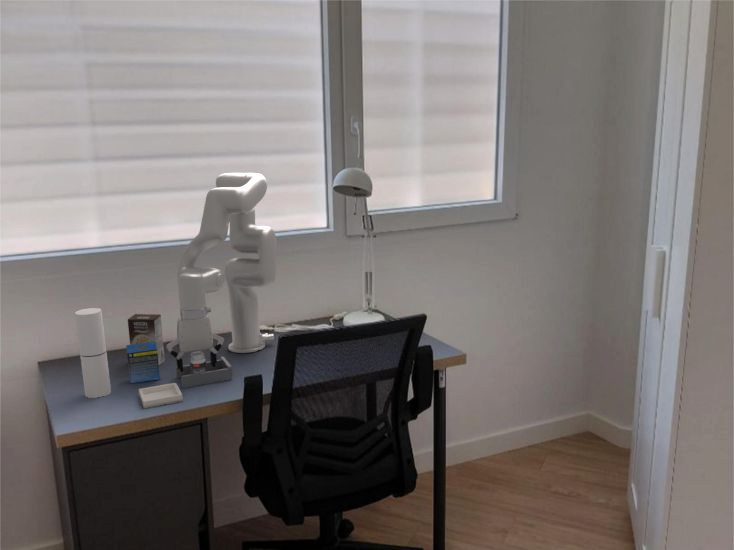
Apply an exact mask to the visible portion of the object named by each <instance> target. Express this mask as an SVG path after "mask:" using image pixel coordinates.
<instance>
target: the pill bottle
mask: <svg viewBox="0 0 734 550" xmlns="http://www.w3.org/2000/svg"><path fill="white" fill-rule="evenodd" d="M189 360H190V361H189V365H190V368H191V374H196V373H202V372H207V369H206V362H207V359H206V358H205V353H204V351H202V350H200V351H192V352H190V359H189Z"/></svg>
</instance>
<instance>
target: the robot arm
mask: <svg viewBox="0 0 734 550" xmlns="http://www.w3.org/2000/svg"><path fill="white" fill-rule="evenodd" d="M267 190H268V182H267V179H266V177H265V176H264V175H263V174H261V173H257V172H226V173H221V174H220V175H218V176H217V177H216V179H215V187H214V188H211V189H210V190H208V192H207V194H206V197H205V202H204V207H203V211H202V212H203V213H202V217H201V222H200V229H199V232H198V234H197V235H196V236H195V237H194V238H193V239H192V240H191V241H190V242H189V243H188V245H187V246H186V247H185V248H184V250H183V252H182V253H181V255H180V258H179V263H178V268H177V275H176V276H177V277H176V279H177V286H178V287H177V288H178V289H177V290H178V298H179V299H178V301H179V313H180V315H179V316H180V317H179V318H178V319H177V323H176V324H177V325H176V338H175V339H173V340H172V341H170V342H169V343H168V344H166V345H165V348H166V349H167V351H168V352H169V354H170V355H171V356H173V357H174V358H175V359H176V367H177V368H178V369H179V370H180V371H181V372H183V366H184V363H183V358H182V357H183V355H184V354H185V353H193V352H197V351H205V350H209V351H210V353H209V354H210V361H211V365H212V366H213V367H215V363H217V360H218V359H217V354H218V352H219V351H220V350H221V348H222V347H223V344H224V342H225V338H224V337H223V336H220V335H218V334H215V333H213V332H212V331H213V330H212V323H211V320H210V317H209V315H208V314H209V313H211V312H212V308H211V307H207V306H206V304H207V303H206V294H212V293H216V292H218V291H220V290H221V289H222V288H223V287H224V285H225V282H226V285H227V291H228V292H227V293H228V298H229V299H228V300H229V312H230V324H231V338H232V342H231V343H229V344H228V350H229V351H230V352H232V353H237V354H246V353H254V352H258V350H259V351H261V350H263V349H264V348H265V347H266V341H270V340H275V336H274V333H270V334H269V333H267V332H266V333H261V331H260V330H261V328H260V316H259V315H260V313H259V312H260V311H259V301H258V295H257V293H256V290H255V289H254V288H253V287H259V288H268V287H271V286H272V285H273V284H274V283H275V281H276V277H277V256H278V255H277V252H278V250H277V247H278V246H277V244H278V243H277V242H278V241H277V235H276V233H275V231H274V230H273V228H272V227H270V226H267V225H256V210H255V207H256V206H257V205H258V204H259V203H260V202H261V201H262V200H263V198H264V197H265V195H266V193H267ZM228 233H229V248H230V251H232V252H234V253H236V254H243V255H258V257H256V258H255V257H234V258H230V259H229V260H227V261H226V263H225V265H224V268H223V269H224V270H223V271H222V270H221V269H219V268H215V267H204V266H202V267H201V266H195V265H196V262H197V260H198V258H199V257H200V256H201V255H202V254H203V253H204V252H205V251H207V250H209V249H211V248H213V247H214V246H217V245H219V244H221V243H223V242H225V241H226V240H227V238H228ZM214 340H217V343H216V345H214ZM176 345H177V349H178V350H177V351H175V350H174V349H173V347H175V346H176Z"/></svg>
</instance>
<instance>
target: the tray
mask: <svg viewBox="0 0 734 550" xmlns="http://www.w3.org/2000/svg"><path fill="white" fill-rule="evenodd" d="M138 396H139V399H140V401H142V402H141V403H142V406H143V409H149V407H150V408H155V407H160V405H161V406H165V404H166V405H171V404H177V403H182V402H183V400H184V399H183V393H182V391H181V390H180V388H179V386H178V384H177V382H172V383H166V384H161V385H156V386H155V385H154V386H149V387H142V388H138ZM154 406H155V407H154Z"/></svg>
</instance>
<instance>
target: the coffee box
mask: <svg viewBox="0 0 734 550" xmlns="http://www.w3.org/2000/svg"><path fill="white" fill-rule="evenodd" d="M127 328H128V336H129V345H133V344H141V343H149V342H156V347H157V352H158V361H159V366H160V365H162V363H164V362H165V360H166V359H165V350H164V349H165V348H164V339H163V338H164V337H163V326H162V315H161V314H151V313H150V314H148V313H147V314H146V313H145V314H143V313H135V314H133V315H131V316H130V317H129V318H128V319H127ZM144 348H147V347H143V346H141V347H138V348H137V349H144Z"/></svg>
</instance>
